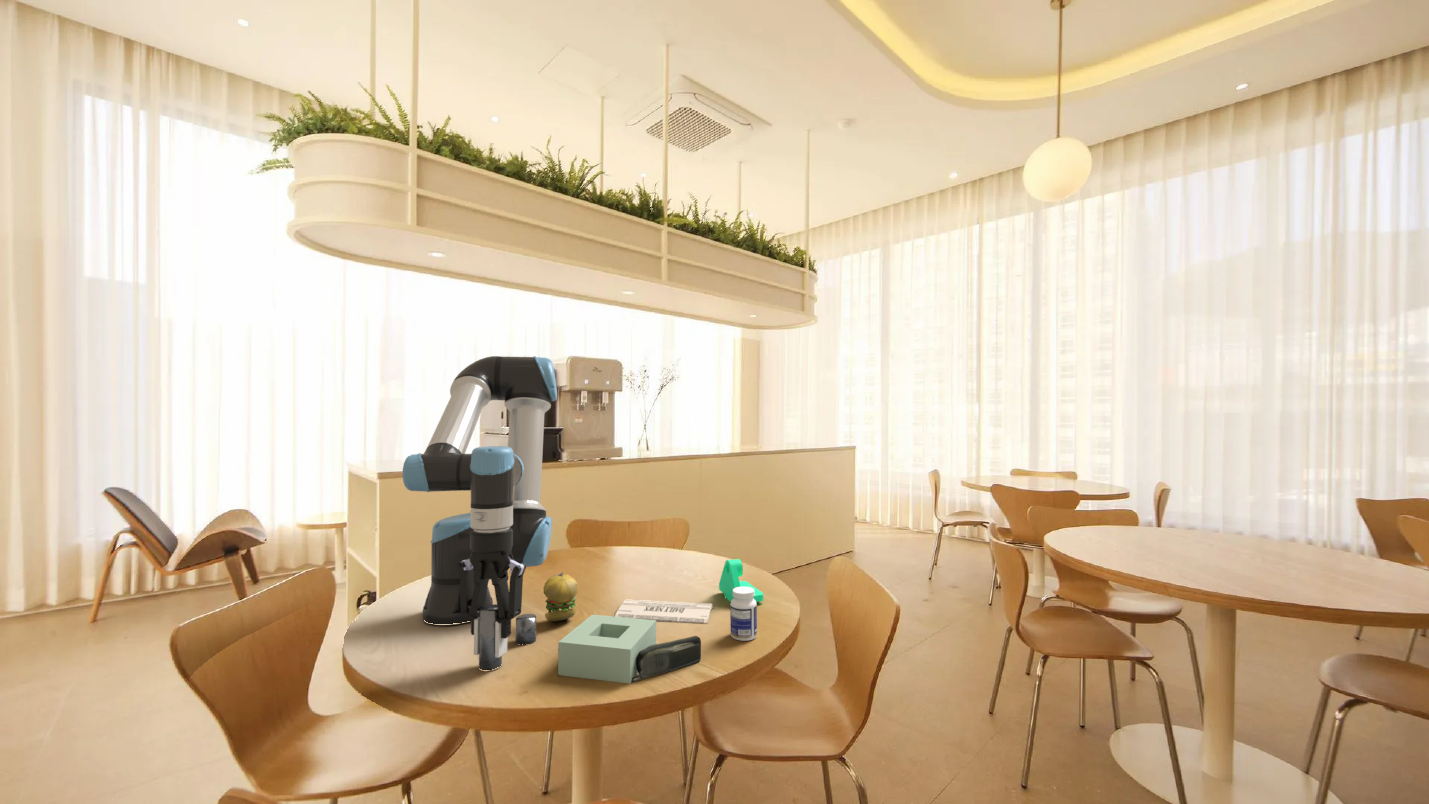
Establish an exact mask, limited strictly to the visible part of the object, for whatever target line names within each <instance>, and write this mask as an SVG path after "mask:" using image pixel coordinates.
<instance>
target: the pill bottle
mask: <svg viewBox="0 0 1429 804" xmlns="http://www.w3.org/2000/svg"><path fill="white" fill-rule="evenodd" d="M754 595H755V593H754V589H753V588H751V587H736V588H734V589H733V597H734V599H732V601H731V603H730V602H729V605H730V608H729V609H730V613H729V614H730V617H729V618H730V621H729V622H730V624H729V625H730V636H731V638H732V639H734V640H736V641H742V642H748V641H752V640H754V639H756V637H757V636H758V605H757V604H758V603H757V602H756V601H755V600H754V599H753V597H754Z"/></svg>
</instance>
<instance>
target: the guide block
mask: <svg viewBox="0 0 1429 804" xmlns="http://www.w3.org/2000/svg"><path fill="white" fill-rule="evenodd" d="M655 644H657V621H656V620H646V619H635V618H624V617H615V615H614V616H613V615H611V616H610V615H601V614H591V615H590V616H588V617H587V618H586V619H585V620H583V622H581V623H579V625H577V627H575V628H573V630H571V631H570V632H569V633H568V634H566V635H565V636H564V637H562V639H560V640H559V641H558V644H557V645H558V646H557V647H558V648H557V649H558V653H557V655H558V656H557V657H558V659H557V661H558V662H557V664H558V667H557V668H558V670H557V672H558V673H557V674H558V676H563V677H572V678H579V679H588V680H589V679H590V680H596V681H597V680H598V681H605V682H613V683H623V684H630V685H631V684H632V682H633V680H632V679H633V678H635V677H638V675H639V673H638V671H637V668H636V658H637V655H638V653H639V652H640V651H641V650H644V649H646V648H647V647H649V646H651V645H655Z"/></svg>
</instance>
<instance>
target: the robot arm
mask: <svg viewBox="0 0 1429 804" xmlns="http://www.w3.org/2000/svg"><path fill="white" fill-rule="evenodd" d="M556 380H557V379H556V373H555V367H554V364H553V360H551V359H550V358H548V357H539V356H536V355H535V356H498V355H497V356H496V355H493V356H487V357H484V358H481V359H478V360H476V361H474V362H472V363H470V364H469V365H467V366H466V367H464V368H463V369H462V370H461V371H460V372H459V373H458V374H457V375H456V377H455V378H454V379H453V382H451V385H450V388H449V395H450V398H449V400H448V402H447V404H446V406H445V409H444V410H443V412H442V415H441V417H440V419H439V421H438V423H437V425H436V428H435V430H434V432H433V433H432V437H431V438H430V441H429V442H428V445H427V447H426V448H425V450H424V453H422V452H421V453H420V452H419V453H416V454H414V453H413V454H410V455H408V456H407V457H406V458H405V460H404V462H403V466H402V473H401V475H402V481H403V485H404V487H405V488H406V490H408V491H411V492H427V493H431V492H432V493H433V492H453V491H454V492H458V491H470V512H467V513H461V514H457V515H452V516H448V517H445V518H442V519H439V520H438V521H436V522H435V523H434V524H433V525H432V533H431V540H430V544H431V561H430V562H431V574H430V575H431V577H430V579H431V582H430V583H431V584H430V587H429V590H428V593H427V596H426V599H425V602H424V605H423V607H422V616H421V617H422V618H423V620H425V621H426V622H428V623H433V624H453V623H462V622H467V621H471V622H470V633H471V635H472V636H473V656H479V610H480V608H481V607H483V606H486V605H493V604H494V602H493V597H492V596H491V595H492V594H491V592H490V588H489V582H490V580H491V585H492V586H493V588H494V594H495V599H496V600H495V602H496V604H497V607H498V613H499V620H497V621H496V622H495V657H497V658H499V657H500V656H502V657H503V656H504V655H505V654H506V653H508V637H510V636H511V633H512V619H513V620H514V619H516V617H518V616H520V615H521V614H522V603H523V602H522V601H523V582H524V580H523V579H524V573H525V571H526V569H527V568H530V567H539V566H541V565H543V563H544V562H545V561H546V559H547V557H548V553H549V548H550V543H551V540H552V527H553V518H552V517H550V516H547V509H546V508H545V507H544V506H543V505H542V504H541V496H542V495H541V493H542V475H543V474H542V473H543V471H542V470H543V456H544V455H543V451H544V432H545V413H547V412H548V411H549V410H550V409H551V408H552V407H551V406H552V402H555V401H557V400H558V388H557V387H558V386H557V381H556ZM490 401H491V402H492V401H504V402H503V403H504V407H505V408H506V409H507V411H509V421H508V423H509V424H508V434H507V435H508V437H507V446H504V445H501V446H498V445H497V446H496V445H495V446H478V447H477V446H476V447H475V448H473V449H472V451H471V453H466V452H467V448H468V447H469V444H470V441H471V439H472V436H473V434H474V432H475V429H476V426H477V423H478V421H479V417H480V415H481V413H482V410H483V409H484V407H486V406H487V405H489V403H490ZM509 569H510V570H509ZM508 571H509V573H508ZM509 574H510V577H509ZM508 580H509V582H508ZM422 618H421V619H422ZM423 620H422V621H423Z"/></svg>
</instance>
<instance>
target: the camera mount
mask: <svg viewBox="0 0 1429 804" xmlns="http://www.w3.org/2000/svg"><path fill="white" fill-rule="evenodd" d="M743 568H744V566H743V562H742V560H741V559H740V558H736V559H726V560H725V562H724V565H723V568H722V572H721V575H720V579H719V583H718V590H719V591H721V592H722V593H723V597H726V598H727V599H728V600H729V601H730V602H731V601H732V599H734V597H733V589H734V588H736V587H751V588H753V589H754V593H755V595H754V597H753V599H754V600H755V601H756V603H757V602H763V601H764V592H762V591H761V590H759V589H758V588H756V587H755V586H753V585H752V584H751V583H749V582H748V581H745V580H740V578H739V577H742V576H743V574H744V573H743V572H744V569H743ZM726 598H725V599H726ZM727 599H726V600H727ZM728 600H727V601H728ZM729 601H728V602H729ZM730 602H729V603H730Z"/></svg>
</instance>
